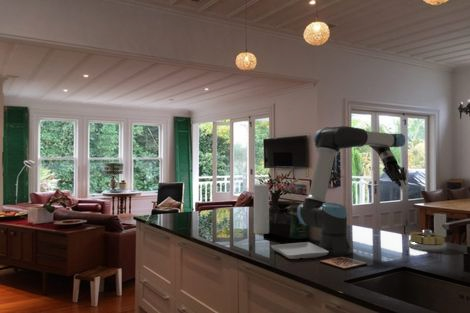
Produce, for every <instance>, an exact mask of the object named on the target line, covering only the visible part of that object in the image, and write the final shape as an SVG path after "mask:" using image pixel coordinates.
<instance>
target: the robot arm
mask: <svg viewBox="0 0 470 313" xmlns="http://www.w3.org/2000/svg"><path fill="white" fill-rule="evenodd" d="M313 137H314V138H313V142H314V146H315V147H316V151H317V153H318V155H317V158H316V161H315V167H314V170H313V171H314V172H313V174H312V180H311V184H310V189H309V192H308V196H306V197H305V198H304V201H303V202H302V203H300V205H298V206H299V207H298V210H297V216H298V219H299V221H300V222H301V223H302V224H303V225H306V227H312V228H318V229H321V239H320V242H319V244H318V246H319V247H321V248H323V249H325V250H327V251H329V253H328V254H326V255H325V256H339V257H342V256H348V255H350V254H351V252H352V251H351V250H352V249H351V245H350V242H349V240H348V233H347V231H348V229H347V228H348V213H347V208H346V206H345V205H343V204H340V203H336V202H327V200H326V196H327V193H328V192H327V191H328V188H329V183H330V179H331V174H332V169H333V165H334V161H335V157H336V156H337V155H338V154H339V151H340V149H350V148H357V147H358V148H360V147H364V146H369V147H370V148H371V149H373V150H374V151H375V152H376V153H377V156H378V157H379V158H380V160H381V162H382V164H383V166H384V167H383V169H382V172H383V173H385V175H386V176H387V177H388V178H389V179H390V180H391V182H392V183H395V184H396V185H397V186H398V187H399V188H400V189H401V191H402V193H406V192H407V191H408V187H407V186H406V185H407V183H406V181H407V175H406V171H405V166H400V165H399V164H398V160H397V159H396V156H395V155H394V153H393V151H392V150H391V148H401V147H404V146H405V143H406V136H405V135H404V134H403V133H398V132H397V133H389V132H388V133H387V132H378V131H368V130H365V129H364V128H360V127H354V126H345V125H342V126H332V127H329V126H327V127H324V128H320V129H318V130H317V131H316V132H315V134H314V136H313Z"/></svg>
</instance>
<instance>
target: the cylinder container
mask: <svg viewBox="0 0 470 313" xmlns="http://www.w3.org/2000/svg"><path fill="white" fill-rule="evenodd" d="M253 233H254V234H257V235H258V234H259V235H266V234H267V235H268V234H270V185H269V184H265V183H259V184H253Z"/></svg>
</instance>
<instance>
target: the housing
mask: <svg viewBox="0 0 470 313" xmlns="http://www.w3.org/2000/svg"><path fill="white" fill-rule="evenodd" d="M421 232H422V236H424V237H426V234H428V235H431V237H432V233H433V231H432V230H431V229H422V230H421ZM408 248H409V249H412V250H415V251H419V252H420V251H422V252H429V253H442V252H445V251H447V242H445V243H444V244H423V243H417V242H413V241H411V239H409V240H408Z"/></svg>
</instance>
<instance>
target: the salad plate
mask: <svg viewBox="0 0 470 313" xmlns="http://www.w3.org/2000/svg"><path fill="white" fill-rule="evenodd" d="M270 247H271V249H273V250H274V251H275V252H277V253H279V254H280V255H282V256H284V257H285V258H287V259H290V260H300V258H303V259H311V258H319V257H324V256H327V255H326V254H328V253H329V251H327V250H325V249H323V248H321V247H319V245H316V244H313V243H312V242H309V241H306V242H305V241H304V242H293V243H290V242H289V243H283V244H271V245H270Z"/></svg>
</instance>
